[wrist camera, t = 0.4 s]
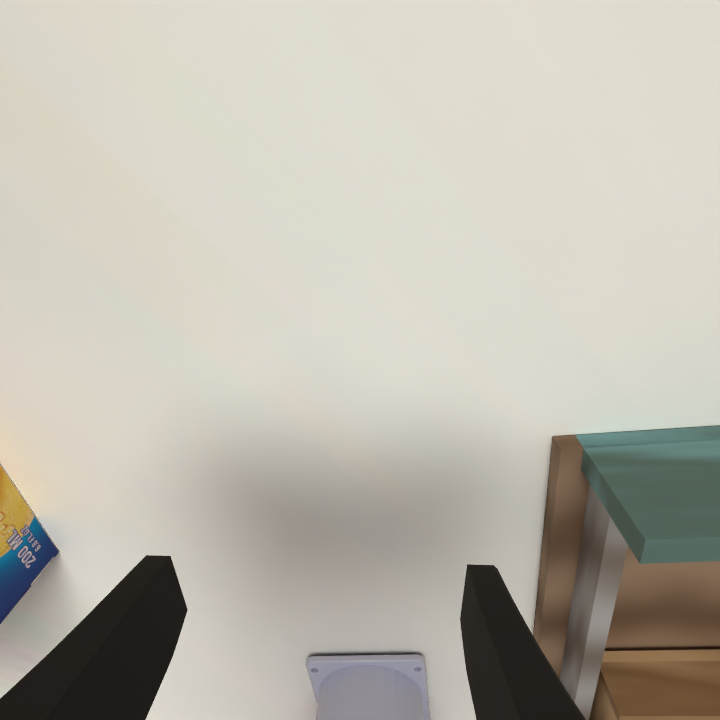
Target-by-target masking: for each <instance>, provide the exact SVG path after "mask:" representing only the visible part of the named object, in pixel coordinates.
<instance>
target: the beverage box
mask: <svg viewBox="0 0 720 720" xmlns="http://www.w3.org/2000/svg"><path fill="white" fill-rule="evenodd" d="M58 552H59V550H58V549H57V547H56V546H55V544H54V543H53V542H52V540H51V539H50V537H49V536H48V534H47V533H46V531H45V530H44V528H43V527H42V525H41V524H40V522H39V521H38V519H37V518H36V516H35V515H34V513H33V512H32V511H31V509H30V508H29V506H28V505H27V503H26V502H25V500H24V499H23V497H22V496H21V494H20V493H19V491H18V490H17V488H16V487H15V485H14V484H13V482H12V481H11V479H10V478H9V477H8V475H7V474H6V472H5V471H4V469H3V468H2V466H1V465H0V624H1V622H2V621H3V620H4V619H5V618H6V616H7V615H8V614H9V613H10V611H11V610H12V609H13V608H14V606H15V605H16V604H17V603H18V602H19V600H20V599H21V598H22V597H23V595H24V594H25V593H26V592H27V590H28V589H29V588H30V587H31V586H32V584H33V583H34V582H35V581H36V579H37V578H38V577H39V576H40V574H41V573H42V572H43V571H44V570H45V568H46V567H47V566H48V565H49V563H50V562H51V561H52V560H53V559H54V557H55V556H56V555H57V554H58Z"/></svg>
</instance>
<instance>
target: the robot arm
mask: <svg viewBox="0 0 720 720" xmlns="http://www.w3.org/2000/svg"><path fill="white" fill-rule="evenodd" d="M186 613H187V606H186V603H185V600H184V597H183V594H182V591H181V588H180V585H179V581H178V578H177V575H176V572H175V569H174V566H173V563H172V560H171V556H148V555H146V556H145V557H144V558H143V559H142V560H141V561H140V562H139V563H138V564H137V565H136V566H135V567H134V568H133V569H132V570H131V571H130V572H129V573H128V574H127V575H126V577H125V578H124V579H123V580H122V581H121V582H120V583H119V584H118V585H117V586H116V587H115V588H114V589H113V590H112V591H111V592H110V593H109V594H108V595H107V596H106V597H105V598H104V599H103V600H102V601H101V602H100V603H99V604H98V605H97V606H96V607H95V608H94V609H93V610H92V611H91V612H90V613H89V614H88V615H87V616H86V617H85V618H84V619H83V620H82V621H81V622H80V623H79V624H78V625H77V626H76V627H75V628H74V629H73V630H72V631H71V632H70V633H69V634H68V635H67V636H66V637H65V638H64V639H63V640H62V641H61V642H60V643H59V644H58V645H57V646H56V647H55V648H54V649H53V650H52V651H51V652H50V653H49V654H48V655H47V656H46V657H45V658H44V659H43V660H41V661H40V662H39V663H38V664H37V665H36V666H35V667H34V668H33V669H32V670H31V671H30V672H29V673H28V674H26V675H25V676H24V677H23V678H22V679H21V680H20V681H19V682H18V683H17V684H16V685H15V686H14V687H13V688H12V689H10V690H9V691H8V692H7V693H6V694H5V695H4V696H3V697H2V698H1V699H0V720H145V719H146V717H147V715H148V712H149V710H150V708H151V706H152V703H153V701H154V699H155V696H156V694H157V692H158V689H159V687H160V685H161V683H162V680H163V678H164V676H165V673H166V671H167V669H168V666H169V664H170V661H171V659H172V657H173V654H174V651H175V648H176V645H177V642H178V639H179V636H180V632H181V629H182V626H183V623H184V619H185V616H186ZM460 622H461V630H462V639H463V648H464V656H465V663H466V671H467V676H468V681H469V685H470V690H471V695H472V700H473V704H474V709H475V714H476V719H477V720H586V719H585V717H584V716H583V714H582V713H581V711H580V710H579V709H578V707H577V706H576V704H575V703H574V701H573V700H572V698H571V696H570V695H569V693H568V692H567V690H566V689H565V687H564V686H563V684H562V682H561V681H560V679H559V678H558V676H557V674H556V673H555V671H554V670H553V668H552V666H551V665H550V663H549V661H548V660H547V658H546V657H545V655H544V653H543V652H542V650H541V648H540V647H539V645H538V643H537V642H536V640H535V638H534V637H533V635H532V633H531V631H530V630H529V628H528V626H527V624H526V623H525V621H524V619H523V617H522V615H521V614H520V612H519V610H518V608H517V606H516V604H515V603H514V601H513V599H512V597H511V595H510V593H509V591H508V589H507V587H506V585H505V583H504V581H503V579H502V577H501V575H500V573H499V571H498V569H497V568H496V567H495V566H494V565H467V571H466V578H465V586H464V594H463V602H462V610H461V617H460ZM306 667H307V670H308V673H309V677H310V680H311V683H312V687H313V690H314V693H315V696H316V700H317V703H318V705H317V714H316V720H430V716H429V705H428V694H427V683H426V672H425V661H424V657H422V656H421V655H351V656H310V657H308V658H307V662H306Z"/></svg>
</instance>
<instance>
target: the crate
mask: <svg viewBox="0 0 720 720" xmlns="http://www.w3.org/2000/svg"><path fill="white" fill-rule="evenodd" d="M589 720H720V649H715V650H650V651H604V655H603V660H602V664H601V668H600V673H599V677H598V682H597V686H596V691H595V695H594V699H593V704H592V708H591V713H590V717H589Z"/></svg>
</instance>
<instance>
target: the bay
mask: <svg viewBox="0 0 720 720" xmlns="http://www.w3.org/2000/svg"><path fill="white" fill-rule="evenodd" d="M533 637H534V638H535V640H536V642H537V643H538V645H539V647H540V648H541V650H542V652H543V653H544V655H545V657H546V658H547V660H548V661H549V663H550V665H551V666H552V668H553V670H554V671H555V673H556V674H557V676H558V678H559V679H560V681H561V682H562V684H563V686H564V687H565V689H566V690H567V692H568V693H569V695H570V696H571V698H572V700H573V701H574V703H575V704H576V706H577V707H578V709H579V710H580V711H581V713H582V714H583V716H584V717H585V719H586V720H589V717H590V713H591V708H592V704H593V699H594V695H595V691H596V686H597V682H598V677H599V673H600V668H601V664H602V660H603V655H604V651H650V650H715V649H720V426H706V427H690V428H675V429H659V430H644V431H628V432H613V433H597V434H582V435H566V436H553V439H552V450H551V460H550V470H549V480H548V491H547V501H546V511H545V521H544V531H543V542H542V552H541V562H540V572H539V582H538V593H537V603H536V613H535V623H534V633H533Z"/></svg>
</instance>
